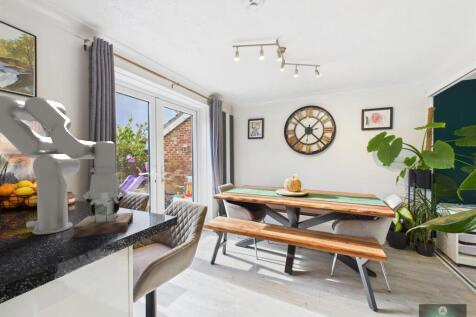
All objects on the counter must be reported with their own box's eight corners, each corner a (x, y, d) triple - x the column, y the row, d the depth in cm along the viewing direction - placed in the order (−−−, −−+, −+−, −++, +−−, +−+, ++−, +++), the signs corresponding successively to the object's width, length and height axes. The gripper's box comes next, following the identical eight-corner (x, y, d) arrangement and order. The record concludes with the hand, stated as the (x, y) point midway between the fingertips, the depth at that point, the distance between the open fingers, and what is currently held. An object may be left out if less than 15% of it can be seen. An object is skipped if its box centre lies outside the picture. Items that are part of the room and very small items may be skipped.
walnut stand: (73, 237, 80) (73, 227, 80) (88, 225, 94) (88, 216, 94) (126, 231, 85) (126, 221, 85) (133, 221, 99) (132, 212, 99)
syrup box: (116, 223, 92) (116, 189, 92) (107, 227, 86) (106, 192, 86) (104, 222, 93) (104, 189, 92) (94, 227, 87) (93, 192, 87)
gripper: (76, 172, 83) (77, 217, 83) (126, 171, 88) (126, 213, 88) (84, 170, 90) (85, 212, 90) (129, 169, 95) (130, 209, 96)
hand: (105, 212), depth 89 cm, fingers closed on syrup box, 7 cm apart
